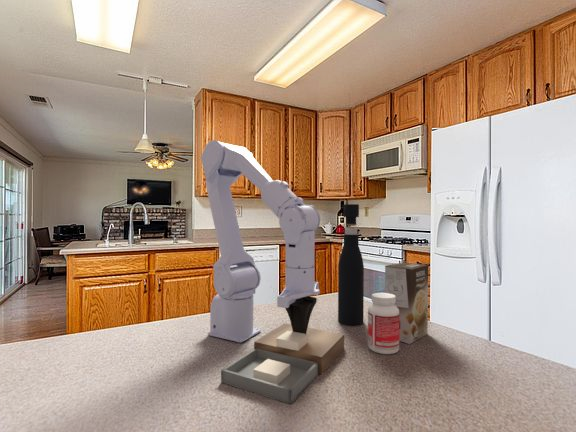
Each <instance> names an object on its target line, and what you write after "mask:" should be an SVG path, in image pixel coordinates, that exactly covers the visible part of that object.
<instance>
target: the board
mask: <svg viewBox="0 0 576 432" xmlns="http://www.w3.org/2000/svg"><path fill="white" fill-rule="evenodd" d="M286 331H292V332H293V330H292V325H291V323H286V322H285V323H284V322H283V323H282V324H280V325H279V326H277V327H275V328H274V329H272V330H271V331H269V332H268V333H266V334H264V335H263V336H262V337H259V338H257V339H256V340H255V341H253V349H255V348H258V349H262V350H266V351H270V352H274V353H279V354H283V355H287V356H291V357H295V358H300V359H304V360H308V361H312V362H316V363H318V375H323V374H324V372H326V370H327V369H328V368H329V367H330V365H332V363H333V362H334V361H335V360H336V359H337V357H338V356H339V355H340V354H341V353H342V352H343V351H344V350H345V334H344V333H340V332H339V333H338V332H334V331H329V330H322V329H317V328H311V327H308V328H307V332H306V334H308V343H307V344H306V345H305V346H303V347H302V348H301V349H300V350H299V351H296V350H291V349H286V348H282V347H277V346H276V338H278V337H279V336H280V335H282V334H283V333H285V332H286Z"/></svg>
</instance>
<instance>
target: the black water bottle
mask: <svg viewBox="0 0 576 432" xmlns="http://www.w3.org/2000/svg"><path fill="white" fill-rule="evenodd" d="M343 217H344V218H346V220H345V225H346V227H345V228H344V234H343V247H342V248H341V252H340V255H339V259H338V268H337V272H338V273H337V274H338V276H337V278H338V279H337V280H338V282H337V284H338V285H337V292H338V293H337V294H338V295H337V297H338V298H337V322H338V323H339V324H341V325H344V326H349V327H351V326H352V327H353V326H354V327H355V326H356V325H357V326H361V325H363V324H364V309H365V308H364V297H365V296H364V292H365V291H364V284H365V283H364V282H365V281H364V280H365V278H364V277H365V267H364V266H365V265H364V260H363V256H362V252H361V249H360V246H359V243H360V242H359V234H358V227H357V218H359V217H360V205H359V204H358V203H357V204H356V203H350V204H349V203H348V204H347V203H346V204H343ZM355 226H356V227H355ZM357 326H356V327H357Z"/></svg>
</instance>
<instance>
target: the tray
mask: <svg viewBox="0 0 576 432" xmlns="http://www.w3.org/2000/svg"><path fill="white" fill-rule="evenodd" d="M267 359H270V360H274V361H278V362H282V363H286V364H290V374H289V375H287V376H286V377H285V378H284V379H283V380H282V381H281V382H280V383H279V384H278V385H277V384H274V383H270V382H267V381H263V380H260V379H257V378H253V369H255V368H256V367H257V366H259V365H260V364H261V363H263V362H264V361H265V360H267ZM220 374H221V375H220V377H221V378H220V379H221V380H220V382H221V383H223V384H225V385H228V386H232V387H235V388H238V389H240V390H244V391H248V392H250V393H251V392H252V393H255V394H258V395H259V396H264V397H267V398H270V399H274V400H276V401H279V402H283V403H286V404H289V405H292V404H293V403H295V401H296V400H297V399H298V397H299V396H300V395H301V394H302V393H303V392H304V391H305V390H306V389H307V388H308V387H309V385H310V384H311V383H312V382H313V381H314V380H315V378H317V376H318V375H319V374H318V363H316V362H312V361H308V360H304V359H300V358H295V357H291V356H287V355H283V354H279V353H274V352H270V351H266V350H262V349H258V348H255V349H254V348H253V349H252V350H250V351H249V352H247V353H245V354H244V355H242V356H240V357H239V358H237V359H236V360H235V361H232V362H231V363H230V364H228V365H227V366H225V367H224V368H222V369H221V371H220Z"/></svg>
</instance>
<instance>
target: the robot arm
mask: <svg viewBox="0 0 576 432" xmlns="http://www.w3.org/2000/svg"><path fill="white" fill-rule="evenodd" d="M253 155H254V154H253V153H252V152H250V151H249V150H248V149H247V148H246V147H245V146H242V145H234V144H230V143H226V142H221V141H219V140H216V139H212V140H209V141H208V143H206V145H205V147H204V149H203V151H202V154H201V156H200V159H201V165H202V169H203V174H204V178H205V188H206V192H207V196H208V203H209V206H210V211H211V212H210V213H211V216H212V220H213V225H214V230H215V234H216V239H217V243H218V249H219V253H220V256H219V258H218V259H217V260H216V262H215V263H214V264H213V266H212V268H213V287H214V289H215V292H216V293H217V294H216V295H214V296H213V298H212V301H211V303H210V317H209V318H210V319H209V321H210V323H209V324H210V330H209V332H207V335H208V336H210V337H215V338H218V339H219V338H220V339H224V340H228V341H230V342H231V341H232V342H237V343H243V342H245V341H247V340H249V339H250V338H253V336H256V335H257V334H259V333H261V331H262V330H261V328H258V327H254V294H256V290H257V288H258V287H260V284H261V279H262V278H261V272H260V271H259V269H258V267H257V265H256V263H255V261H254V260H255V259H254V257H253V256H252V255H250V253H248V252H246V250H245V249H244V243H243V240H242V234H241V230H240V226H239V221H238V217H237V213H236V208H235V204H234V199H233V195H232V191H231V186H232V185H233V184H235V183H236V182H237V181H238V180H239V178H240V177H241V176H242V175H243V176H244V177H245V178H246V179H247V180H248V181H249V182H250V183H251V184H253V185H254V186H255V187H256V188H257V189H258V190H259V191H260V199H261V201H262V202H263V203H264V204H265V205H266V206H267V207H268V209H270V211H271V212H272V213H273V214H274V215H275V216H276V217H277V218H278V223H279V227H280V229H281V231H282V233H283V240H284V241H285V271H284V272H285V275H284V276H285V277H284V278H285V282H284V284H285V285H284V286H285V287H284V288H283V290H282V291H281V293H280V294H279V295H277V296H276V303H277V304H276V307H278V308H284V309H285V311H286V313H287V315H288V317H289V321H290V324H291V325H292V330H293V332H298V333H303V334H306V332H307V328H309V327H308V326H309V322H310V319H311V315H312V312H313V309H314V307H315V306H316V304H317V302H318V301H317V297H314V296H317V295H320V294H321V290H320V289H319V288H320V287H319V286H320V284H319V283H320V282H318V281H315V260H316V259H315V258H316V256H315V252H316V251H315V241H316V239H315V237H316V233H315V232H316V231H317V230H318V229H319V226H320V224H321V217H320V216H321V215H320V213H319V211H318V210H317V209H316V206H314V205H312V204H306V203H304V199H303V198H302V197H299V196H297V195H296V194H295V193H294V192H293V191H292V190H291V189H290V188H289V187H290V184H289V183H288V181H287V182H286V181H284V180H279V179H276V180H273V179H272V178H271V176H270V175H269V174H268V173H267V171H266V170H265V169H264V168H263V167H262V166H261V165H260V164H259V162H258V161H257V160H256V159H255V157H254V156H253Z"/></svg>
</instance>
